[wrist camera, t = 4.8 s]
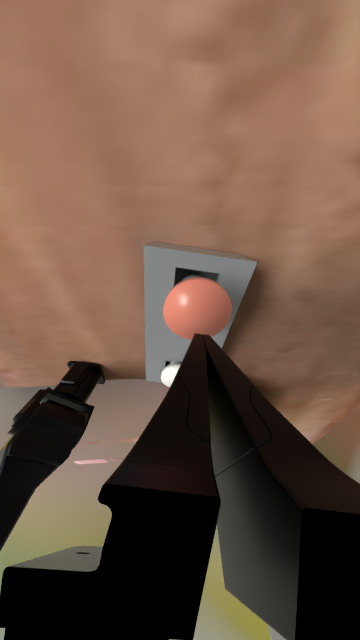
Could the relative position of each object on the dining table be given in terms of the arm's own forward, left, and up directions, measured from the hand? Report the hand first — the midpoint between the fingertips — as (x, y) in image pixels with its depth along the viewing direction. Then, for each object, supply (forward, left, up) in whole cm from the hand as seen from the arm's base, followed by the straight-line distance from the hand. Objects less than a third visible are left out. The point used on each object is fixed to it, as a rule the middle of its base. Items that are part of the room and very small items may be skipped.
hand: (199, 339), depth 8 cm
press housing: (-6, 0, -12) cm, 14 cm away
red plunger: (0, 0, -8) cm, 8 cm away
